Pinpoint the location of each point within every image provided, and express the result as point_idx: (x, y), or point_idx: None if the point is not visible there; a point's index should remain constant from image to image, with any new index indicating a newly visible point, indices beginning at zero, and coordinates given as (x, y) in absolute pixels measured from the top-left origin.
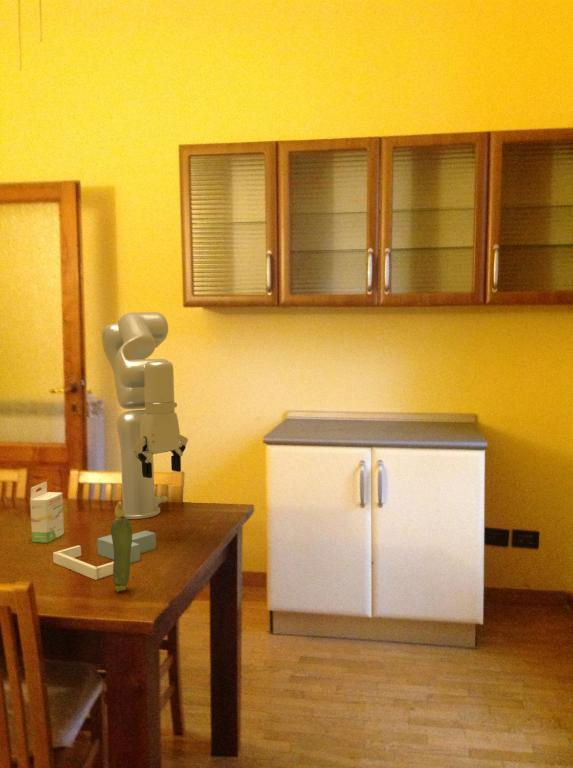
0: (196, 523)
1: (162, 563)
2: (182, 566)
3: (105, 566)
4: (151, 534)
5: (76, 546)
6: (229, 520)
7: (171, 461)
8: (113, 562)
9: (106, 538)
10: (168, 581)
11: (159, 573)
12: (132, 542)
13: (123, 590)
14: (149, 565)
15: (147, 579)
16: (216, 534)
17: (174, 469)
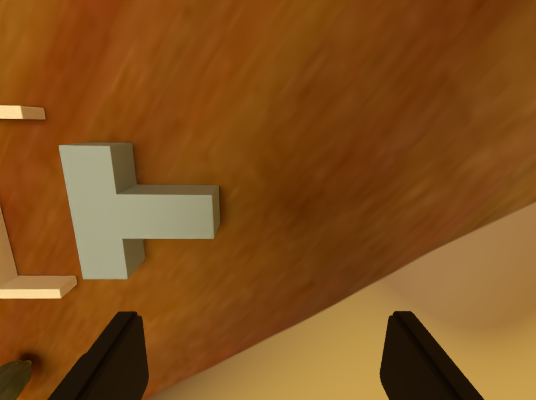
0: (437, 140)
1: (168, 308)
2: (187, 348)
3: (17, 297)
4: (199, 238)
5: (10, 110)
6: (504, 194)
7: (428, 373)
8: (41, 293)
9: (81, 167)
10: None
11: None
12: (120, 255)
13: (31, 363)
14: (141, 298)
15: None
16: (385, 255)
17: (388, 349)
